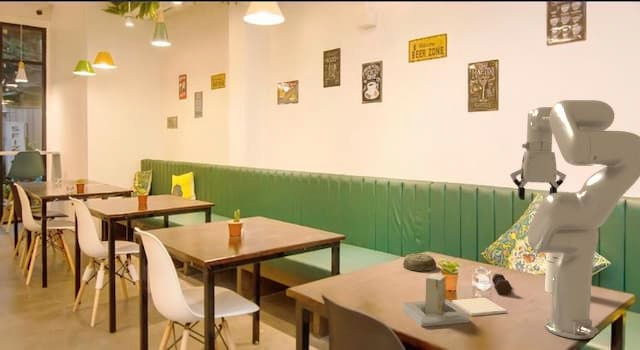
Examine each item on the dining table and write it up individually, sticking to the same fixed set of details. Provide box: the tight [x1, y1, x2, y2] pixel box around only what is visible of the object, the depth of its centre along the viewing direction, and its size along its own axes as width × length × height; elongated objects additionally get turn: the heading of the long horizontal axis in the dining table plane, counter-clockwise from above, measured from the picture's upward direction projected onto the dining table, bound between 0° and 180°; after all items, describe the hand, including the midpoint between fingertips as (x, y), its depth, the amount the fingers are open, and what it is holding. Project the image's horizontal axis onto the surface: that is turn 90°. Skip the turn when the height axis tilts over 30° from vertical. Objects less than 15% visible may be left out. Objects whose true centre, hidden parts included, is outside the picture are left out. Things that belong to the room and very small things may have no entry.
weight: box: [402, 253, 437, 272], centre depth 200 cm, size 14×13×5 cm
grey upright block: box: [424, 273, 447, 314], centre depth 145 cm, size 6×4×12 cm
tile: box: [451, 297, 508, 317], centre depth 153 cm, size 12×12×1 cm
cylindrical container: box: [544, 253, 562, 294], centre depth 169 cm, size 7×7×25 cm
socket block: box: [402, 298, 470, 327], centre depth 145 cm, size 13×15×2 cm
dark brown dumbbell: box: [491, 273, 513, 296], centre depth 173 cm, size 6×5×15 cm
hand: (537, 199), depth 158 cm, fingers open, 9 cm apart
